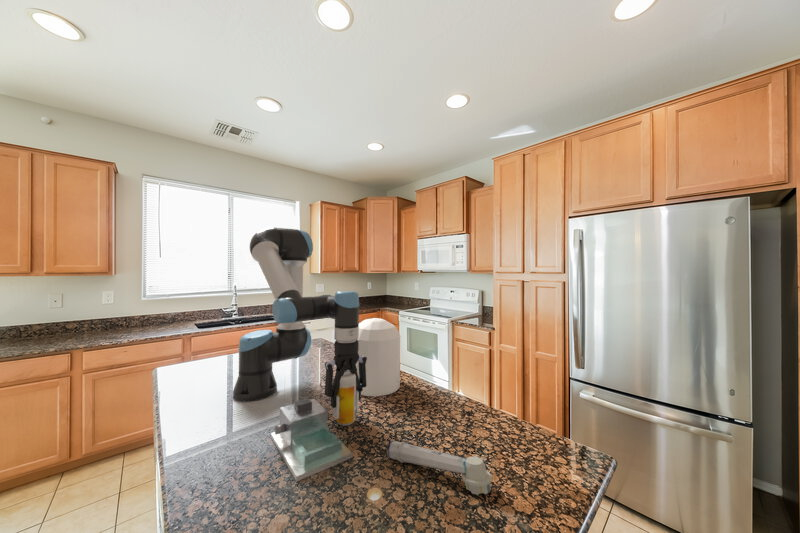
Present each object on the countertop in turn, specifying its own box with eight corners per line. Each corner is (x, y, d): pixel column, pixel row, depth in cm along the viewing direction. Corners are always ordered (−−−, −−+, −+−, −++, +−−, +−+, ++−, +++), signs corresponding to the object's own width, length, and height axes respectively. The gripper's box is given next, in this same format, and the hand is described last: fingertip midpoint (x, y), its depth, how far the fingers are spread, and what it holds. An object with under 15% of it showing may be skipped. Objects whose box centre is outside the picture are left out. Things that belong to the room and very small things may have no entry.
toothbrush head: (395, 435, 77) (490, 451, 65) (398, 462, 77) (495, 483, 64) (384, 446, 73) (485, 465, 60) (387, 474, 72) (489, 499, 60)
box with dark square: (269, 437, 82) (269, 401, 83) (318, 421, 91) (318, 389, 91) (294, 482, 65) (295, 436, 65) (352, 457, 74) (352, 417, 74)
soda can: (337, 417, 94) (337, 370, 95) (356, 416, 95) (356, 370, 95) (334, 427, 88) (335, 377, 89) (355, 426, 89) (355, 376, 89)
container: (409, 382, 124) (409, 316, 124) (380, 401, 106) (380, 324, 107) (370, 373, 135) (371, 312, 136) (338, 388, 117) (338, 318, 118)
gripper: (322, 347, 83) (321, 428, 83) (378, 338, 95) (377, 409, 94) (312, 342, 89) (312, 418, 89) (366, 334, 101) (365, 401, 100)
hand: (346, 413), depth 92 cm, fingers closed on soda can, 6 cm apart
